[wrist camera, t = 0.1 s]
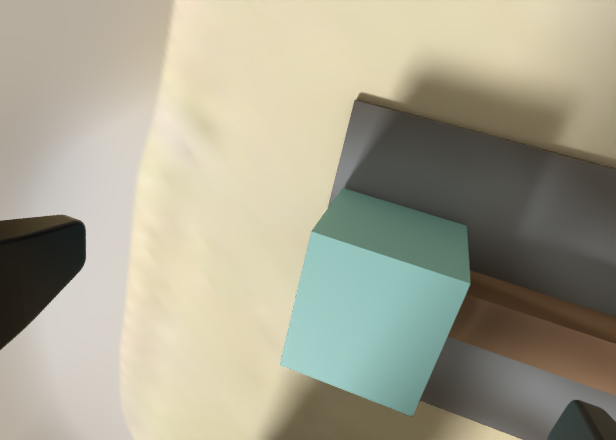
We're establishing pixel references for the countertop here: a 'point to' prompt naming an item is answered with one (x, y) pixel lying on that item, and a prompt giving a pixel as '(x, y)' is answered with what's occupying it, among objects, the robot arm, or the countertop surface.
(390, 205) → the block
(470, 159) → the rail track
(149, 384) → the countertop surface
